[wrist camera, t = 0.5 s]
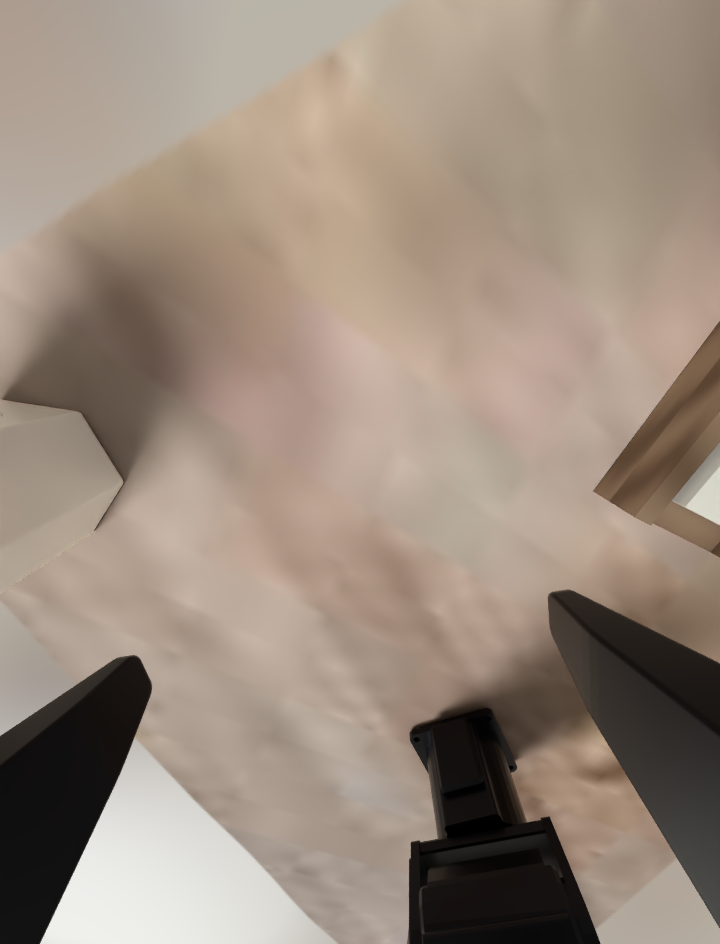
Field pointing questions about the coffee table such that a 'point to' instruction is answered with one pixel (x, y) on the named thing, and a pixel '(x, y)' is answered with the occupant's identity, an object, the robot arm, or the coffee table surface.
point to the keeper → (703, 489)
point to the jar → (48, 486)
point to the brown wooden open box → (673, 452)
